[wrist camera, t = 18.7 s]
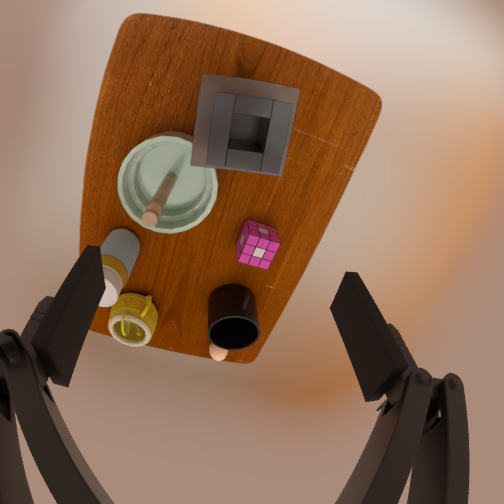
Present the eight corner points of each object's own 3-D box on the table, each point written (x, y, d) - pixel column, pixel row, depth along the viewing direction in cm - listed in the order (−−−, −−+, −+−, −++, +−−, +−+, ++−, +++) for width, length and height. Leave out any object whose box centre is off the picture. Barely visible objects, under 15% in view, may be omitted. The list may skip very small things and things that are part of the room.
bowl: (130, 128, 41) (118, 134, 36) (224, 135, 43) (224, 141, 38) (128, 213, 49) (119, 228, 44) (212, 221, 51) (211, 237, 46)
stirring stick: (165, 172, 45) (141, 211, 31) (177, 173, 45) (157, 212, 32) (164, 183, 46) (141, 226, 32) (176, 184, 46) (157, 228, 33)
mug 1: (144, 330, 65) (136, 370, 55) (106, 307, 60) (92, 346, 50) (174, 302, 61) (167, 344, 50) (132, 274, 56) (118, 315, 46)
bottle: (148, 241, 52) (128, 292, 40) (128, 263, 54) (107, 315, 42) (119, 219, 49) (90, 265, 36) (102, 243, 51) (73, 291, 39)
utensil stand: (211, 81, 38) (197, 69, 17) (268, 89, 40) (317, 89, 19) (203, 134, 43) (183, 182, 22) (258, 141, 44) (293, 195, 23)
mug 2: (268, 281, 60) (275, 313, 52) (244, 322, 66) (247, 354, 57) (222, 267, 57) (223, 299, 49) (202, 311, 63) (200, 344, 54)
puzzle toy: (263, 252, 56) (267, 270, 51) (235, 244, 54) (237, 261, 50) (275, 227, 53) (281, 243, 48) (246, 218, 52) (249, 233, 47)
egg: (209, 347, 69) (209, 365, 65) (209, 335, 67) (209, 353, 62) (227, 347, 70) (228, 365, 65) (227, 335, 68) (228, 354, 63)
